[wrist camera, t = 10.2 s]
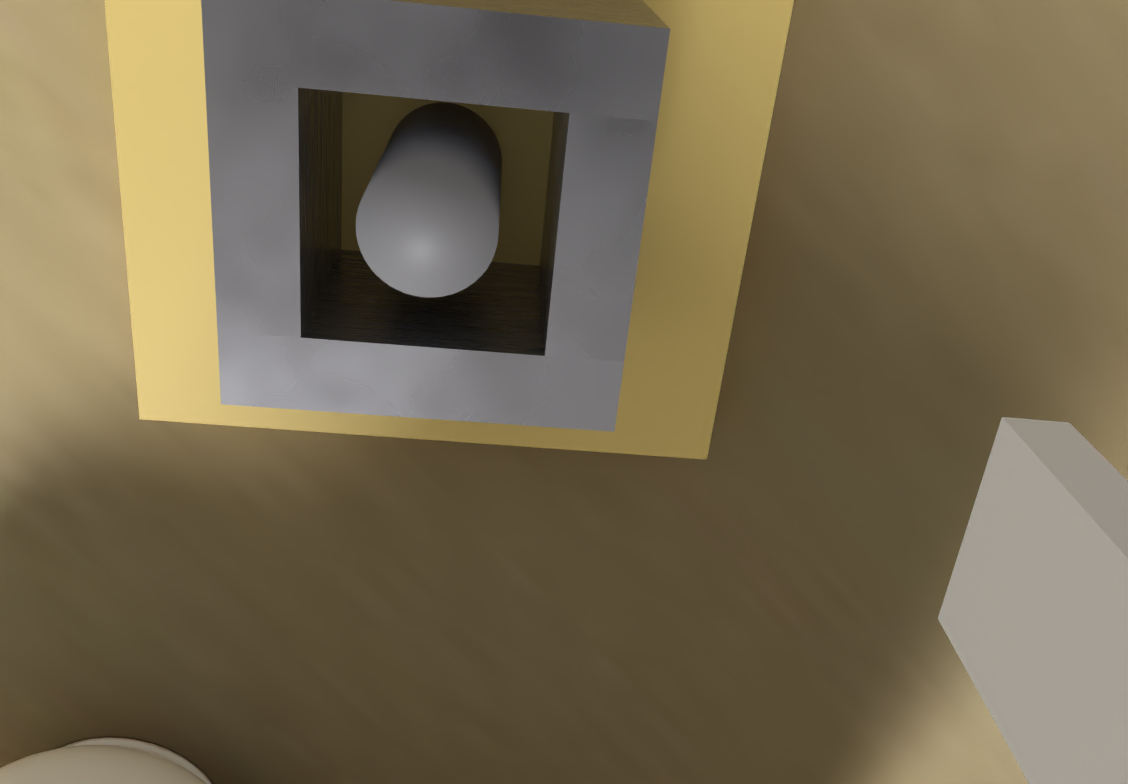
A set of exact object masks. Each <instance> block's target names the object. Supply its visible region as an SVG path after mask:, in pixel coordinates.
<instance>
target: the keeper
mask: <svg viewBox="0 0 1128 784" xmlns="http://www.w3.org/2000/svg"><path fill="white" fill-rule="evenodd" d="M643 1H644V2H645V3H646V4H647V5H648V6H649V7H650V8H651V9H652V10H653V11H654V12H655V14H656V15H657V16H658V17H659V18H660V19H661V20H662V21H663V22H664V23H665V24H666V25H667V26H668V27H669V28H670V35H669V42H668V49H667V57H666V64H665V71H664V78H663V85H662V93H661V100H660V107H659V114H658V121H657V129H656V136H655V143H654V150H653V157H652V165H651V172H650V179H649V186H648V194H647V201H646V208H645V215H644V222H643V230H642V237H641V244H640V251H639V258H638V266H637V273H636V280H635V287H634V294H633V302H632V309H631V316H630V323H629V330H628V338H627V345H626V352H625V359H624V366H623V374H622V381H621V388H620V395H619V403H618V410H617V417H616V424H615V431H614V432H612V431H597V430H583V429H568V428H554V427H540V426H525V425H511V424H497V423H482V422H468V421H453V420H439V419H425V418H410V417H396V416H382V415H367V414H353V413H338V412H324V411H310V410H295V409H281V408H267V407H252V406H238V405H223V404H221V395H220V375H219V355H218V334H217V314H216V294H215V273H214V253H213V233H212V212H211V192H210V172H209V151H208V131H207V111H206V90H205V70H204V50H203V29H202V9H201V0H104V2H105V14H106V26H107V38H108V49H109V61H110V73H111V85H112V97H113V109H114V121H115V133H116V145H117V157H118V169H119V180H120V192H121V204H122V216H123V228H124V240H125V252H126V264H127V276H128V288H129V300H130V312H131V323H132V335H133V347H134V359H135V371H136V383H137V395H138V407H139V419H144V420H158V421H172V422H186V423H200V424H214V425H228V426H242V427H256V428H270V429H284V430H298V431H312V432H326V433H340V434H354V435H368V436H382V437H396V438H410V439H424V440H438V441H452V442H466V443H481V444H495V445H509V446H523V447H537V448H551V449H565V450H579V451H593V452H607V453H621V454H635V455H649V456H663V457H677V458H691V459H705V460H707V456H708V451H709V446H710V440H711V435H712V430H713V425H714V419H715V414H716V409H717V403H718V398H719V393H720V388H721V382H722V377H723V372H724V367H725V361H726V356H727V351H728V346H729V340H730V335H731V330H732V325H733V319H734V314H735V309H736V303H737V298H738V293H739V288H740V282H741V277H742V272H743V267H744V261H745V256H746V251H747V246H748V240H749V235H750V230H751V224H752V219H753V214H754V209H755V203H756V198H757V193H758V188H759V182H760V177H761V172H762V167H763V161H764V156H765V151H766V145H767V140H768V135H769V130H770V124H771V119H772V114H773V109H774V103H775V98H776V93H777V88H778V82H779V77H780V72H781V66H782V61H783V56H784V51H785V45H786V40H787V35H788V30H789V24H790V19H791V14H792V9H793V3H794V0H643ZM553 119H554V112H552V111H542V110H531V109H520V108H510V107H499V106H489V105H478V104H467V103H457V102H446V101H435V100H425V99H414V98H404V97H393V96H382V95H372V94H361V93H350V92H343V108H342V245H341V249H342V250H354V251H361V253H362V255H363V257H364V259H365V261H366V263H367V264H368V266H369V267H370V268H371V270H372V271H373V272H374V273H375V274H376V275H377V276H378V277H379V278H380V279H381V280H382V281H384V282H385V283H387V284H388V285H389V286H391V287H393V288H395V289H396V290H399V291H401V292H403V293H406V294H410V295H413V296H419V297H443V296H447V295H451V294H454V293H457V292H459V291H461V290H463V289H465V288H467V287H468V286H470V285H471V284H473V283H474V282H475V281H476V280H477V279H479V278H480V277H481V276H482V274H483V273H484V272H485V271H486V270H487V268H488V266H489V265H490V263H491V262H500V263H513V264H525V265H537V266H540V256H541V245H542V235H543V224H544V214H545V203H546V193H547V182H548V172H549V161H550V151H551V140H552V130H553Z"/></svg>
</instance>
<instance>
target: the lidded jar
mask: <svg viewBox="0 0 1128 784" xmlns="http://www.w3.org/2000/svg"><path fill="white" fill-rule="evenodd" d="M0 784H212V782H211V781H210V780H209V779H208V777H207V776H206V775H205V774H204V773H203V772H202V771H201V770H200V769H199V768H198V767H196V766H195V765H194V764H193V763H191V762H190V761H188V760H187V759H185V758H184V757H182V756H181V755H179V754H177V753H175V752H173V751H171V750H169V749H166V748H164V747H161V746H158V745H156V744H153V743H149V742H145V741H141V740H136V739H128V738H117V737H103V738H92V739H86V740H82V741H77V742H74V743H71V744H68V745H66V746H63V747H61V748H59V749H54V750H50V751H45V752H41V753H37V754H33V755H30V756H27V757H25V758H22V759H19V760H17V761H14V762H11V763H9V764H7V765H5V766H3V767H1V768H0Z"/></svg>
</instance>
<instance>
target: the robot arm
mask: <svg viewBox="0 0 1128 784" xmlns="http://www.w3.org/2000/svg"><path fill="white" fill-rule="evenodd" d="M938 620H939V622H940V624H941V625H942V627H943V629H944V631H945V633H946V634H947V636H948V638H949V640H950V642H951V643H952V645H953V647H954V649H955V651H956V653H957V654H958V656H959V658H960V660H961V662H962V663H963V665H964V667H965V669H966V671H967V672H968V674H969V676H970V678H971V680H972V681H973V683H974V685H975V687H976V689H977V690H978V692H979V694H980V696H981V698H982V699H983V701H984V703H985V705H986V707H987V709H988V710H989V712H990V714H991V716H992V718H993V719H994V721H995V723H996V725H997V727H998V728H999V730H1000V732H1001V734H1002V736H1003V737H1004V739H1005V741H1006V743H1007V745H1008V746H1009V748H1010V750H1011V752H1012V754H1013V756H1014V757H1015V759H1016V761H1017V763H1018V765H1019V766H1020V768H1021V770H1022V772H1023V774H1024V775H1025V777H1026V779H1027V781H1028V783H1029V784H1128V481H1127V480H1126V479H1125V478H1124V477H1123V476H1122V475H1121V474H1120V473H1119V472H1118V471H1117V470H1116V469H1115V468H1114V467H1113V466H1112V465H1111V464H1110V463H1109V462H1108V461H1107V460H1106V459H1105V458H1104V457H1103V456H1102V455H1101V454H1100V453H1099V452H1098V451H1097V450H1096V449H1095V448H1094V447H1093V446H1092V445H1091V444H1090V443H1089V442H1088V441H1087V440H1086V439H1085V438H1084V437H1083V436H1082V435H1081V434H1080V433H1079V432H1078V431H1077V430H1076V429H1075V428H1074V427H1073V426H1072V425H1071V424H1070V423H1069V422H1058V421H1046V420H1034V419H1022V418H1010V417H1002V419H1001V422H1000V425H999V428H998V431H997V434H996V437H995V441H994V444H993V447H992V450H991V453H990V456H989V459H988V463H987V466H986V469H985V472H984V475H983V478H982V481H981V484H980V488H979V491H978V494H977V497H976V500H975V503H974V506H973V510H972V513H971V516H970V519H969V522H968V525H967V528H966V532H965V535H964V538H963V541H962V544H961V547H960V550H959V553H958V557H957V560H956V563H955V566H954V569H953V572H952V575H951V579H950V582H949V585H948V588H947V591H946V594H945V597H944V601H943V604H942V607H941V610H940V613H939V616H938Z"/></svg>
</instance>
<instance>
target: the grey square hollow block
mask: <svg viewBox="0 0 1128 784" xmlns="http://www.w3.org/2000/svg"><path fill="white" fill-rule="evenodd" d="M201 9H202V29H203V50H204V70H205V90H206V111H207V131H208V151H209V172H210V192H211V212H212V233H213V253H214V273H215V294H216V314H217V334H218V355H219V375H220V395H221V404H223V405H238V406H252V407H267V408H281V409H295V410H310V411H324V412H338V413H353V414H367V415H382V416H396V417H410V418H425V419H439V420H453V421H468V422H482V423H497V424H511V425H525V426H540V427H554V428H568V429H583V430H597V431H612V432H614V431H615V424H616V417H617V410H618V403H619V395H620V388H621V381H622V374H623V366H624V359H625V352H626V345H627V338H628V330H629V323H630V316H631V309H632V302H633V294H634V287H635V280H636V273H637V266H638V258H639V251H640V244H641V237H642V230H643V222H644V215H645V208H646V201H647V194H648V186H649V179H650V172H651V165H652V157H653V150H654V143H655V136H656V129H657V121H658V114H659V107H660V100H661V93H662V85H663V78H664V71H665V64H666V57H667V49H668V42H669V35H670V28H669V27H668V26H667V25H666V24H665V23H664V22H663V21H662V20H661V19H660V18H659V17H658V16H657V15H656V14H655V12H654V11H653V10H652V9H651V8H650V7H649V6H648V5H647V4H646V3H645V2H644V1H643V0H201ZM343 92H350V93H361V94H372V95H382V96H393V97H404V98H414V99H425V100H435V101H446V102H457V103H467V104H478V105H489V106H499V107H510V108H520V109H531V110H542V111H552V112H554V119H553V130H552V140H551V151H550V161H549V172H548V182H547V193H546V203H545V214H544V224H543V235H542V245H541V256H540V266H537V265H525V264H513V263H500V262H491V263H490V265H489V266H488V268H487V270H486V271H485V272H484V273H483V274H482V276H481V277H480V278H479V279H477V280H476V281H475V282H474V283H473V284H471V285H470V286H468V287H467V288H465V289H463V290H461V291H459V292H457V293H454V294H451V295H447V296H443V297H419V296H413V295H410V294H406V293H403V292H401V291H399V290H396V289H395V288H393V287H391V286H389V285H388V284H387V283H385V282H384V281H382V280H381V279H380V278H379V277H378V276H377V275H376V274H375V273H374V272H373V271H372V270H371V268H370V267H369V266H368V264H367V263H366V261H365V259H364V257H363V255H362V253H361V251H354V250H342V249H341V245H342V108H343Z"/></svg>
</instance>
